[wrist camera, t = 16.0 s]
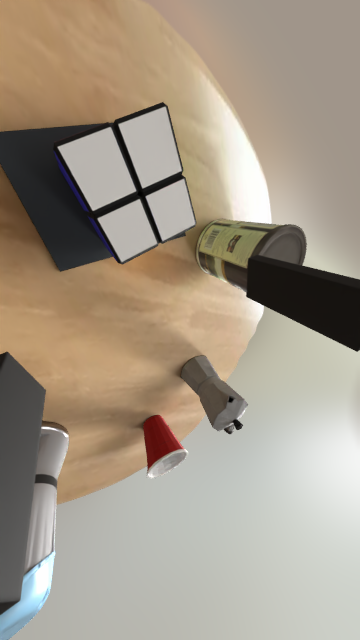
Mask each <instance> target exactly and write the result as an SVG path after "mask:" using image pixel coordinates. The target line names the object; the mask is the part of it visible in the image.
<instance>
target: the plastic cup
mask: <svg viewBox="0 0 360 640" xmlns="http://www.w3.org/2000/svg"><path fill="white" fill-rule="evenodd" d="M143 429H144V436H145V437H144V439H145V446H146V453H147V463H148V465H147V466H148V470H147V471H148V472H147V477H148V478H155V477H159V476H161V475H163V474H166V473H167V472H169V471H171V470H173V469H174V468H175V467H177V466H178V465H179V464H180V463H182V462H183V461H184V460H185V458H186V457H187V455H188V451H187V450H185V449H184V448H183V447H182V445H181V444H180V442H179V441H178V440H177V438H176V437H175V435H174V434H173V432H172V431H171V429H170V428H169V426H168V425H167V424H166V422H165V421H164V419H163V418H162V417H161V416H160V415H155V416H152V417H150V418H149V419H147V420H146V421H145V422H144V425H143Z"/></svg>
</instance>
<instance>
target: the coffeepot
mask: <svg viewBox="0 0 360 640" xmlns="http://www.w3.org/2000/svg"><path fill="white" fill-rule="evenodd" d="M181 378H182V379H183V380H184V381H185V382H186V383H187V384H188V385H189V386H190V387H191V388H192V389H193V390H194V391H195V392H196V394H197V395H199V397H200V401H201V403H202V406H203V408H204V410H205V412H206V414H207V416H208V419H209V421H210V423H211V425H212V427H213V428H214V429H216V430H217V431H220V430H222V429H224V430H225V431H226V432H227V433H228V434H232V433H233V429H234V426H235V428H236V429H237V430H239V429H241V428H242V426H243V425H242V424H241V423H240V422H239V421H238V419H239V418H240V417H241V416H242V415H243V413H244V412H245V410H246V408H247V406H248V404H247V402H246V401H245V400H244V399H243V398H242V397H241V396H240V395H239V394H238V393H236V392H235V391H234V390H233V389H232V388H231V387H230V386H228V385H227V384H226V383H225V382H224V381H222V380H221V379H220V378H219V376H218V374H217V373H216V371H215V369H214V368H213V366H212V364H211V363H210V361H209V360H208V359H207V357H206V356H197V357H194V358H193V359H191V360H190V361H188V362H187V363H186V364H185V366H184V367H183V369H182V373H181Z"/></svg>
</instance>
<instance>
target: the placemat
mask: <svg viewBox="0 0 360 640" xmlns="http://www.w3.org/2000/svg"><path fill="white" fill-rule="evenodd" d="M103 124H104V123H103ZM109 124H111V125H113V123H109ZM99 125H102V124H91V125H78V126H66V127H54V128H41V129H29V130H17V131H5V132H0V164H1V166H2V168H3V170H4V171H5V173H6V175H7V177H8V179H9V180H10V182H11V184H12V186H13V188H14V189H15V191H16V193H17V195H18V197H19V198H20V200H21V202H22V204H23V206H24V207H25V209H26V211H27V213H28V215H29V216H30V218H31V220H32V222H33V224H34V225H35V227H36V229H37V231H38V233H39V234H40V236H41V238H42V240H43V242H44V243H45V245H46V247H47V249H48V251H49V252H50V254H51V256H52V258H53V260H54V261H55V263H56V265H57V267H58V269H59V270H60V271H64V270H68V269H71V268H75V267H78V266H82V265H85V264H89V263H92V262H96V261H99V260H103V259H106V258H110V257H113V256H112V254H111V253H110V252H109V251H108V249H107V248H106V247H105V245H104V243H103V241H102V240H101V238H100V236H99V235H98V233H97V231H96V230H95V228H94V226H93V224H92V223H91V221H90V219H89V218H88V216H87V214H88V212H87V211H85V210H84V209H83V207H82V206H81V204H80V202H79V201H78V199H77V197H76V196H75V194H74V192H73V190H72V189H71V187H70V185H69V184H68V182H67V180H66V179H65V177H64V175H63V173H62V172H61V170H60V168H59V165H58V162H57V159H56V156H55V153H54V150H53V147H54V142H56V141H59V140H61V139H64V138H67V137H69V136H72V135H75V134H77V133H80V132H83V131H86V130H88V129H91V128H94V127H96V126H99ZM183 236H186V235H185V232H184V233H182V234H180V235H178V236H176V237H174V238H172V239H171V240H173V239H176V238H180V237H183ZM159 243H160V242H159Z"/></svg>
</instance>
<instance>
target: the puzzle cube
mask: <svg viewBox="0 0 360 640" xmlns="http://www.w3.org/2000/svg"><path fill="white" fill-rule="evenodd" d="M53 150H54V153H55V156H56V159H57V162H58V165H59V168H60V170H61V172H62V173H63V175H64V177H65V179H66V180H67V182H68V184H69V185H70V187H71V189H72V190H73V192H74V194H75V196H76V197H77V199H78V201H79V202H80V204H81V206H82V207H83V209H84V210H85V211H87V212H88V214H87V216H88V218H89V219H90V221H91V223H92V224H93V226H94V228H95V230H96V231H97V233H98V235H99V236H100V238H101V240H102V241H103V243H104V245H105V247H106V248H107V249H108V251H109V252H110V253H111V254H112V256H113V257H114V258H115V259H116V261H117V262H118V263H120V264H124V263H126V262H128V261H130V260H132V259H134V258H136V257H138V256H140V255H142V254H143V253H145V252H147V251H149V250H151V249H153V248H155V247H157V246H158V244H159V242H160V243H162V244H163V243H165V242H167V241H169V240H171V239H172V238H174V237H176V236H178V235H180V234H182V233H184V232H186V231H188V230H190V229H192V228H194V227H195V225H196V219H195V215H194V211H193V207H192V203H191V199H190V194H189V190H188V186H187V182H186V178H185V177H184V176H182V172H183V167H182V163H181V159H180V155H179V151H178V146H177V142H176V138H175V134H174V130H173V126H172V122H171V118H170V114H169V110H168V106H167V105H165V104H164V103H163V102H162V103H159V104H157V105H154V106H151V107H149V108H146V109H143V110H141V111H138V112H135V113H133V114H130V115H127V116H124V117H122V118H119V119H116V120H115V121H114V123H113V125H111V124H109V123H108V122H107V123H104V124H102V125H99V126H96V127H94V128H91V129H88V130H86V131H83V132H80V133H77V134H75V135H72V136H69V137H67V138H64V139H61V140H59V141H56V142H54V147H53Z"/></svg>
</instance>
